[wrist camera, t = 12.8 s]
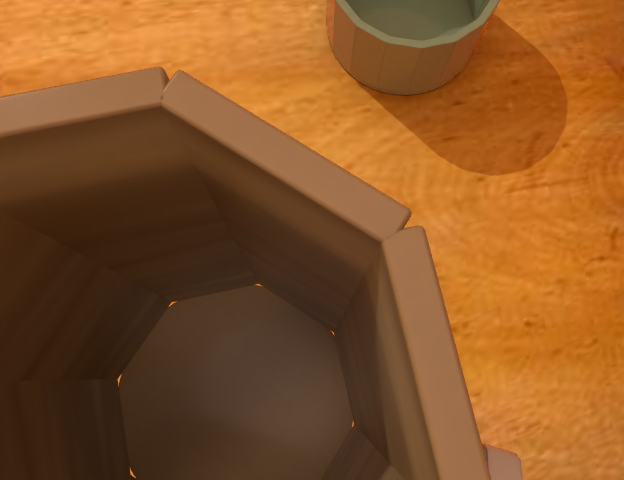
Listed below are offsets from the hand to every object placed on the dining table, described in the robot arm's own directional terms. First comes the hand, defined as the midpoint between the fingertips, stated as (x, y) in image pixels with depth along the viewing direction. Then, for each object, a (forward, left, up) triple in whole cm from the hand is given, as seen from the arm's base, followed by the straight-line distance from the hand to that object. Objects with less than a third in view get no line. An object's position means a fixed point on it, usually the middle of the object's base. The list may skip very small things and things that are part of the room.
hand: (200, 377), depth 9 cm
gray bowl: (+5, -20, -21) cm, 29 cm away
